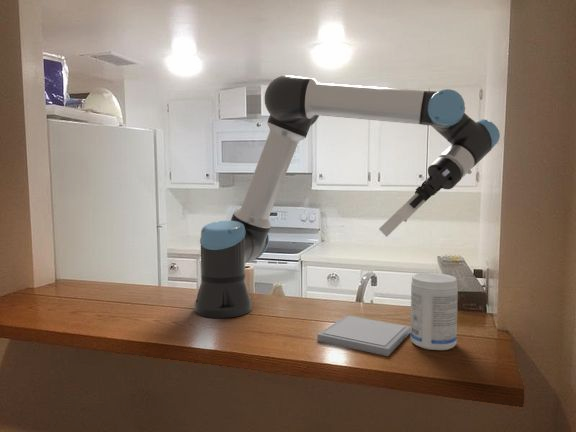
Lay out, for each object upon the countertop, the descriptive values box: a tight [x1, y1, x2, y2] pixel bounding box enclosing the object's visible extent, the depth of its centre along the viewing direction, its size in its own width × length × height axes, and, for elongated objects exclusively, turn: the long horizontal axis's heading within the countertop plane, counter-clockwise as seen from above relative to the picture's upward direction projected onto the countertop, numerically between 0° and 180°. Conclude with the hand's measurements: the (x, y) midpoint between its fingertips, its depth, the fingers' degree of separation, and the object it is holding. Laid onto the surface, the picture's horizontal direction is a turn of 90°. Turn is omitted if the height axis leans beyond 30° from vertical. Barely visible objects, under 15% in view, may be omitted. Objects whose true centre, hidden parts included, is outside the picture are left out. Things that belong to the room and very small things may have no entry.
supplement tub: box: [410, 272, 459, 351], centre depth 98 cm, size 10×10×15 cm
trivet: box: [316, 314, 411, 357], centre depth 102 cm, size 16×16×2 cm
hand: (391, 225), depth 104 cm, fingers open, 13 cm apart
